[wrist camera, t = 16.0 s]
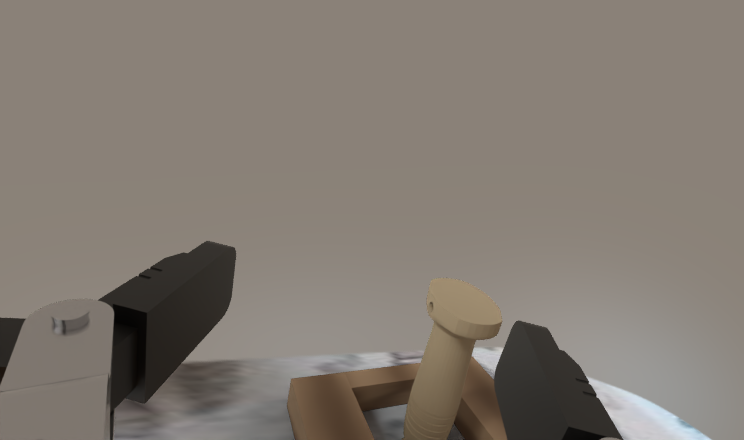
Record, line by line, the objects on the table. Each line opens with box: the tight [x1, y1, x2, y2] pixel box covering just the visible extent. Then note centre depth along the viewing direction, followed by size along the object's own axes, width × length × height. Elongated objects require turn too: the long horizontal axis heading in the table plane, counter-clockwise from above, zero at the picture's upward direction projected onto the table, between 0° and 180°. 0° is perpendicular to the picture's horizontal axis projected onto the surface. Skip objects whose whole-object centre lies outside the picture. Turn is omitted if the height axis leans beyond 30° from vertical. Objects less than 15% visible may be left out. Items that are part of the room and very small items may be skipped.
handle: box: [402, 278, 502, 440], centre depth 30 cm, size 5×6×15 cm
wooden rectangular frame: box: [287, 357, 507, 440], centre depth 32 cm, size 20×14×3 cm
